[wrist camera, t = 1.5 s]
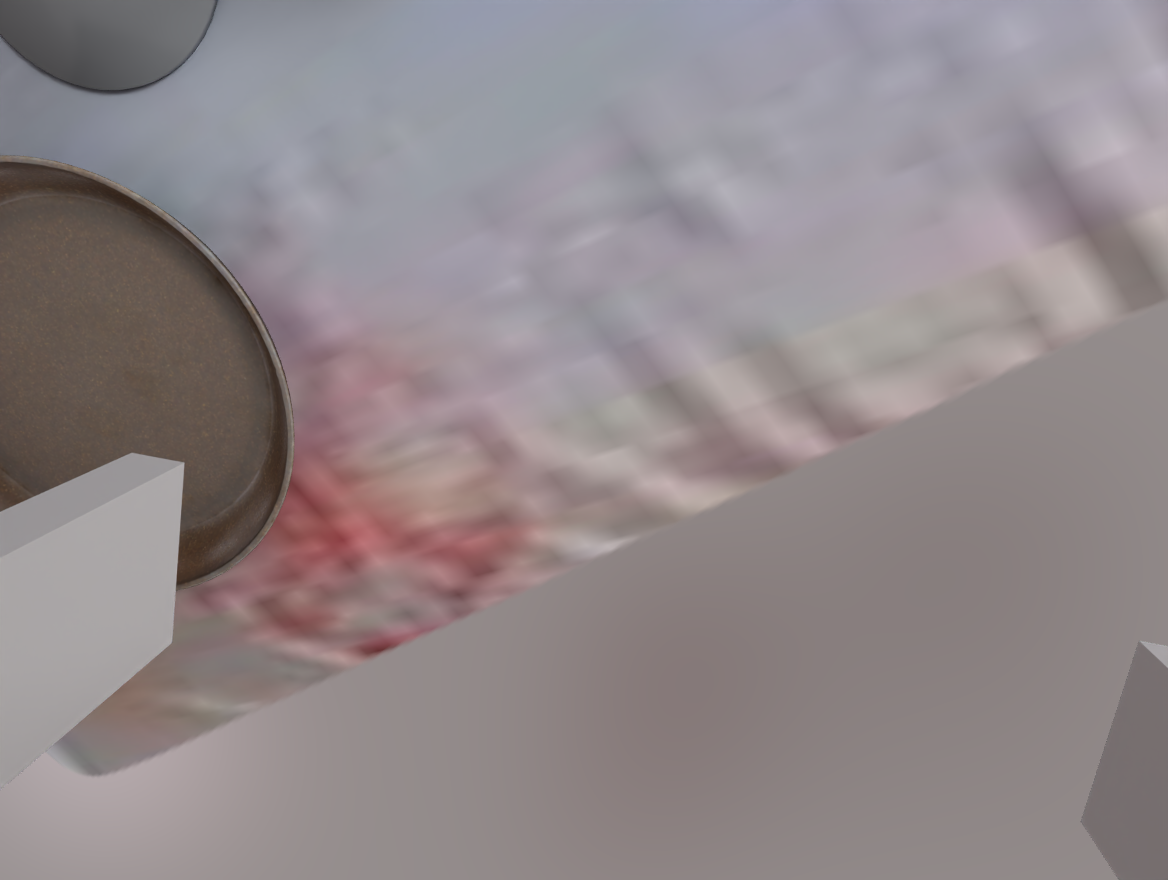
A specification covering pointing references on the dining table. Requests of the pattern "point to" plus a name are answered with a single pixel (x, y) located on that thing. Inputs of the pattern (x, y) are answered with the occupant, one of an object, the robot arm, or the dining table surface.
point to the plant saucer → (135, 359)
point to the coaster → (106, 37)
